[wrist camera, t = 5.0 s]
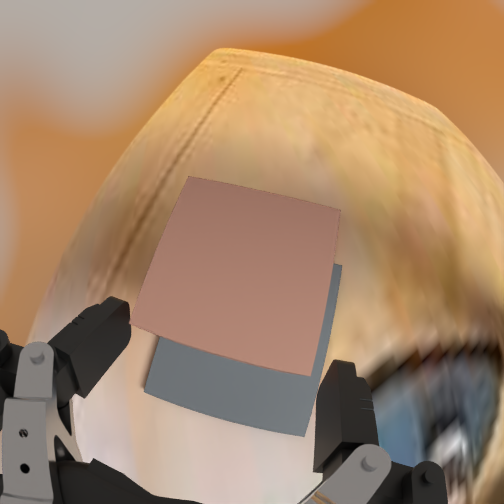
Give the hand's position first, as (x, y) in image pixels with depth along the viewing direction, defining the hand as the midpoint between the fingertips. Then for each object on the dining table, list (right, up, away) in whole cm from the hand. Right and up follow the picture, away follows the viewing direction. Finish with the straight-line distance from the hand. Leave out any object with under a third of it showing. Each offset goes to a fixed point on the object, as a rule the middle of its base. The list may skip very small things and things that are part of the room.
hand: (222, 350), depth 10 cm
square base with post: (+1, -4, +17) cm, 18 cm away
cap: (+1, 0, +7) cm, 7 cm away
